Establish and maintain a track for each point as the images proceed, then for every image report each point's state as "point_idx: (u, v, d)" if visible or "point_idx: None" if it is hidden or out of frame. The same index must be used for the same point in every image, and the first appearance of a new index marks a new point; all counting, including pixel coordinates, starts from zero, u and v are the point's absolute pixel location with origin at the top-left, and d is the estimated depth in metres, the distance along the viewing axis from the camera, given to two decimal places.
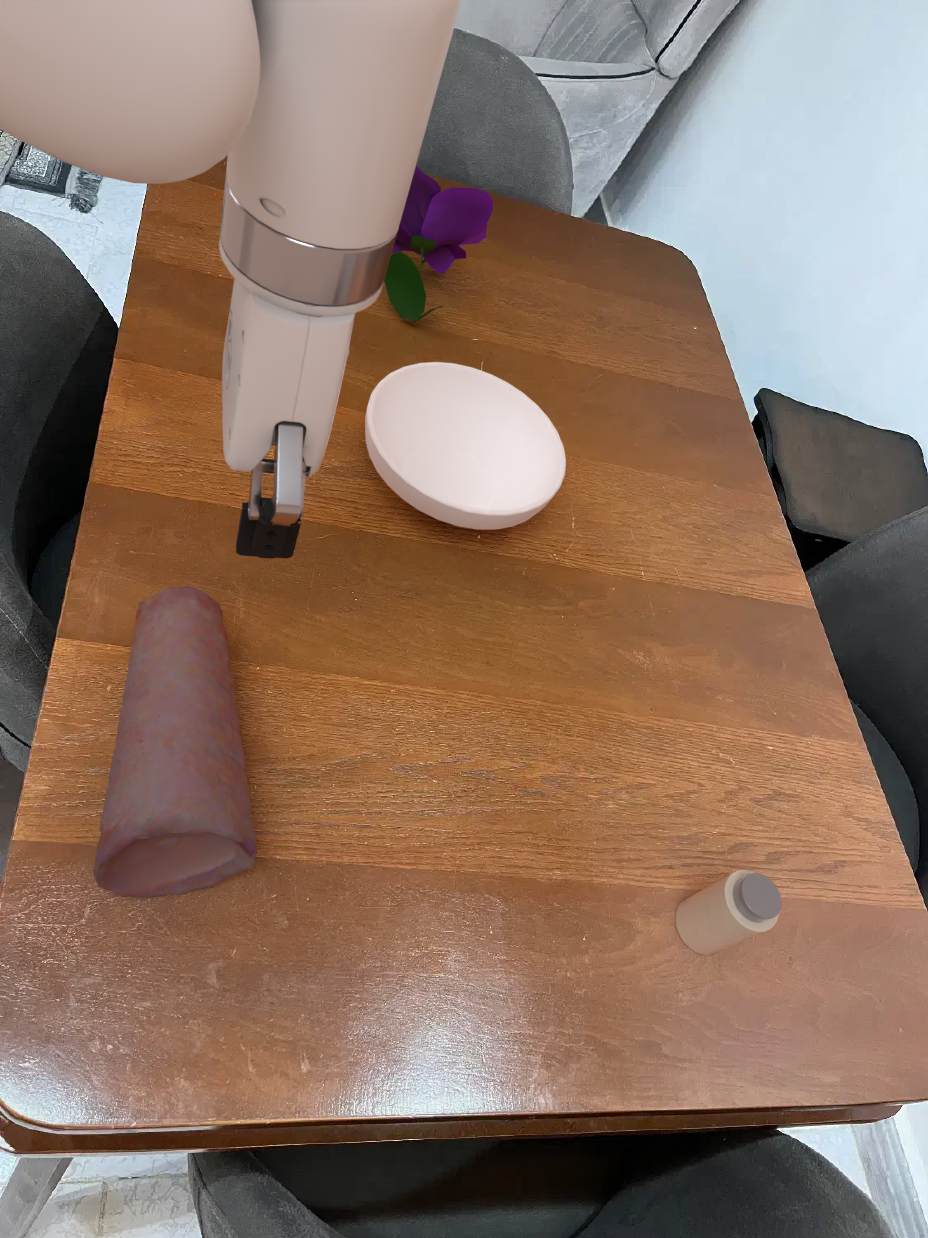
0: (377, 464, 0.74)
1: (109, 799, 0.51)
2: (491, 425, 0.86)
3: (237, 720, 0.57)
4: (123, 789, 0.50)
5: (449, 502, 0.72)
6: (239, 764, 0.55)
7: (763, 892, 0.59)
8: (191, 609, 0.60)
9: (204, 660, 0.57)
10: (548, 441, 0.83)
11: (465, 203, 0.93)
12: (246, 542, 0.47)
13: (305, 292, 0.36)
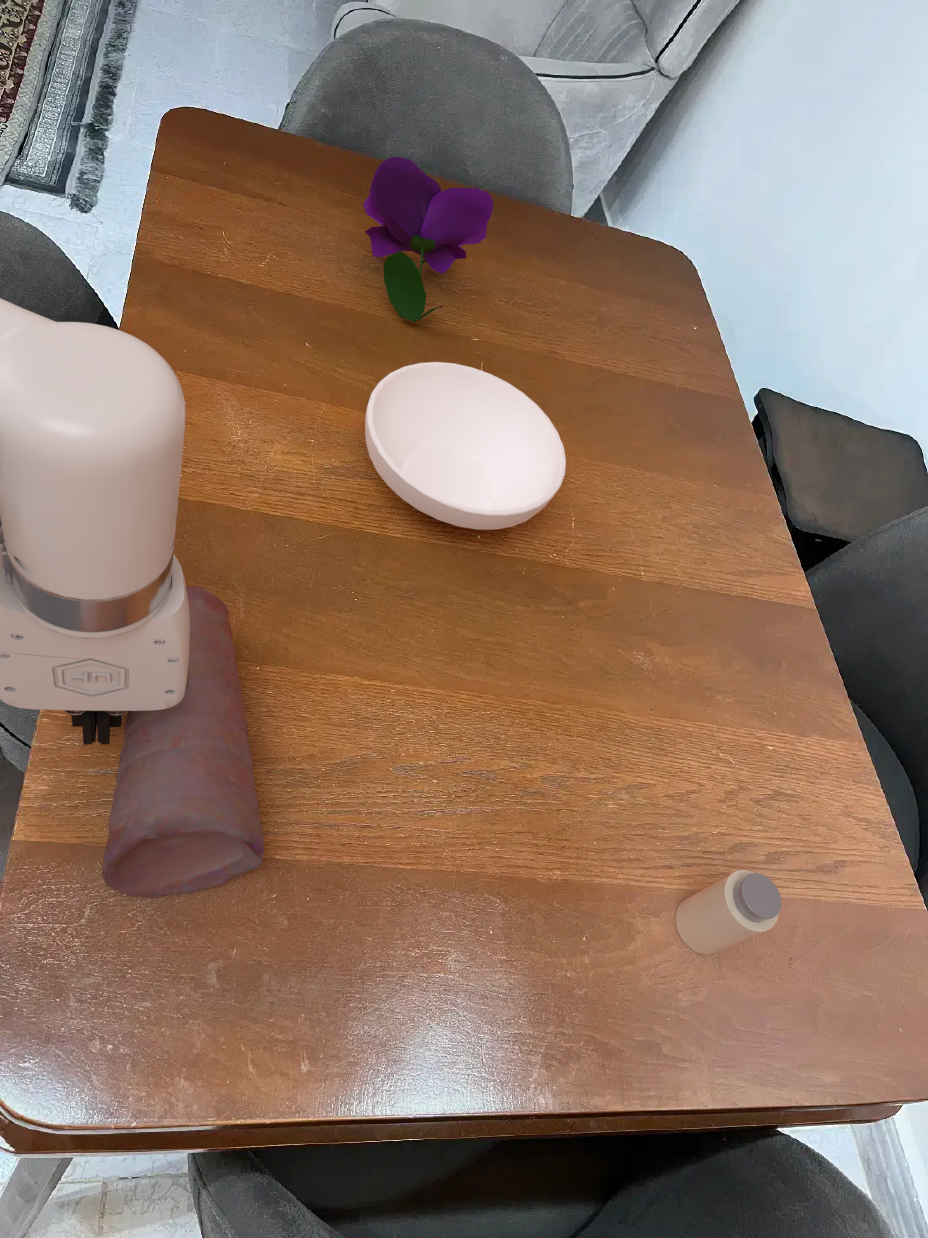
0: (377, 464, 0.74)
1: (117, 799, 0.51)
2: (491, 425, 0.86)
3: (244, 720, 0.57)
4: (131, 789, 0.51)
5: (449, 502, 0.72)
6: (246, 764, 0.55)
7: (763, 892, 0.59)
8: (197, 609, 0.60)
9: (211, 660, 0.57)
10: (548, 441, 0.83)
11: (465, 203, 0.93)
12: (109, 731, 0.55)
13: (171, 573, 0.43)
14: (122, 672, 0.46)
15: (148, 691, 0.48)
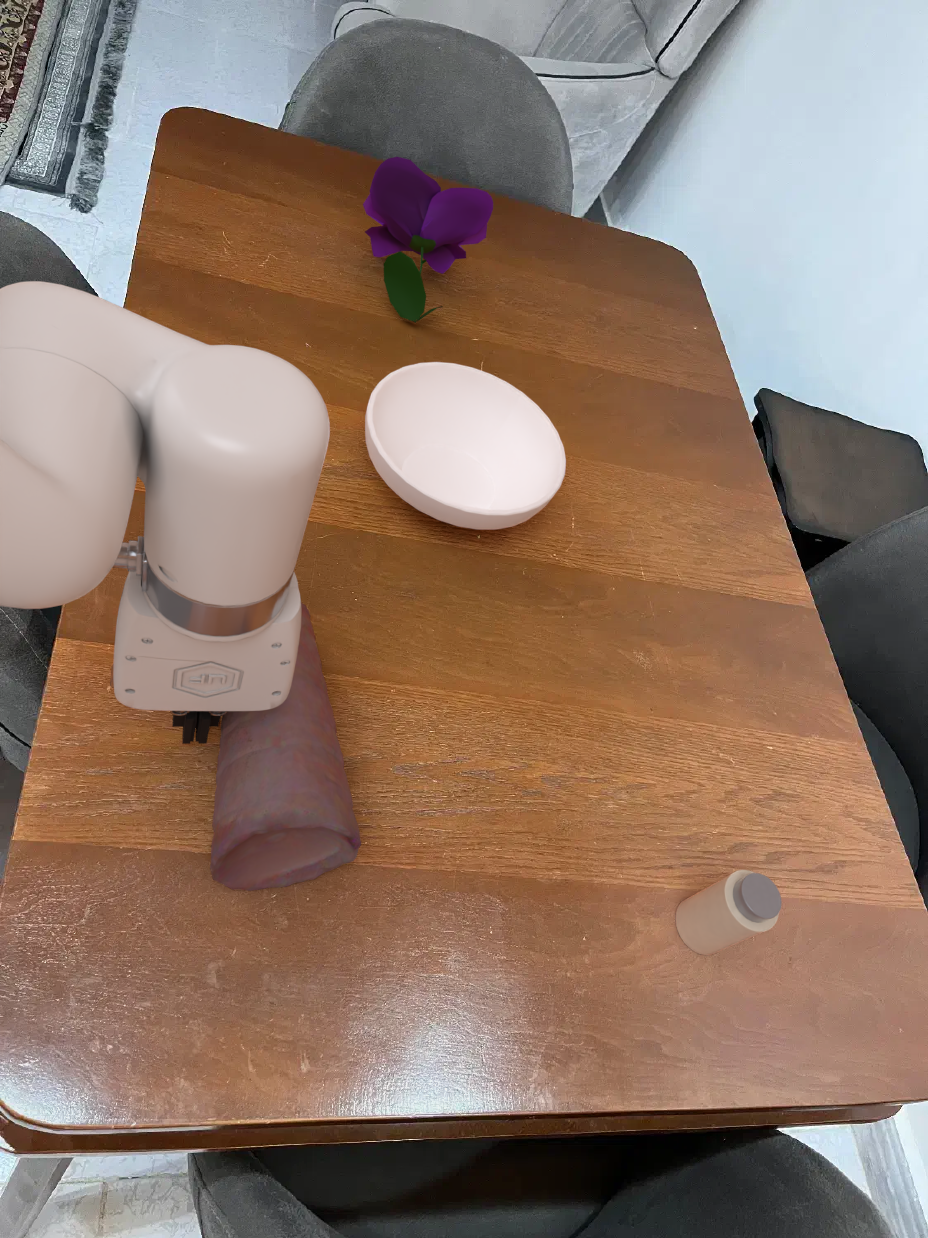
0: (377, 464, 0.74)
1: (222, 796, 0.53)
2: (491, 425, 0.86)
3: (333, 720, 0.59)
4: (236, 786, 0.53)
5: (449, 502, 0.72)
6: (339, 762, 0.57)
7: (763, 892, 0.59)
8: None
9: (301, 662, 0.60)
10: (548, 441, 0.83)
11: (465, 203, 0.93)
12: None
13: None
14: (237, 674, 0.48)
15: (257, 692, 0.50)
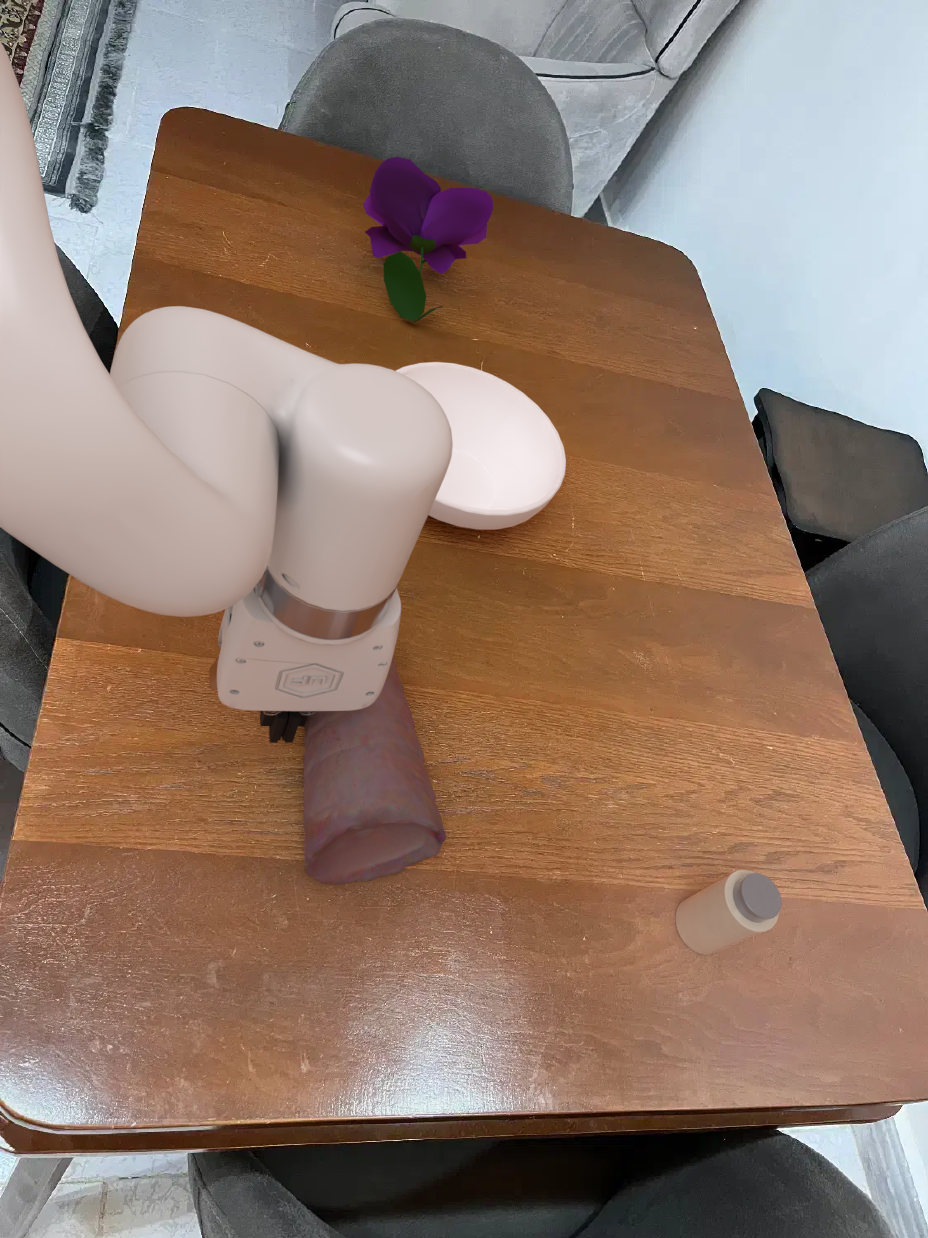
0: None
1: (315, 793, 0.55)
2: (491, 425, 0.86)
3: (412, 719, 0.61)
4: (329, 783, 0.55)
5: (449, 502, 0.72)
6: (421, 760, 0.59)
7: (763, 892, 0.59)
8: None
9: None
10: (548, 441, 0.83)
11: (465, 203, 0.93)
12: None
13: None
14: (337, 675, 0.50)
15: (352, 693, 0.52)
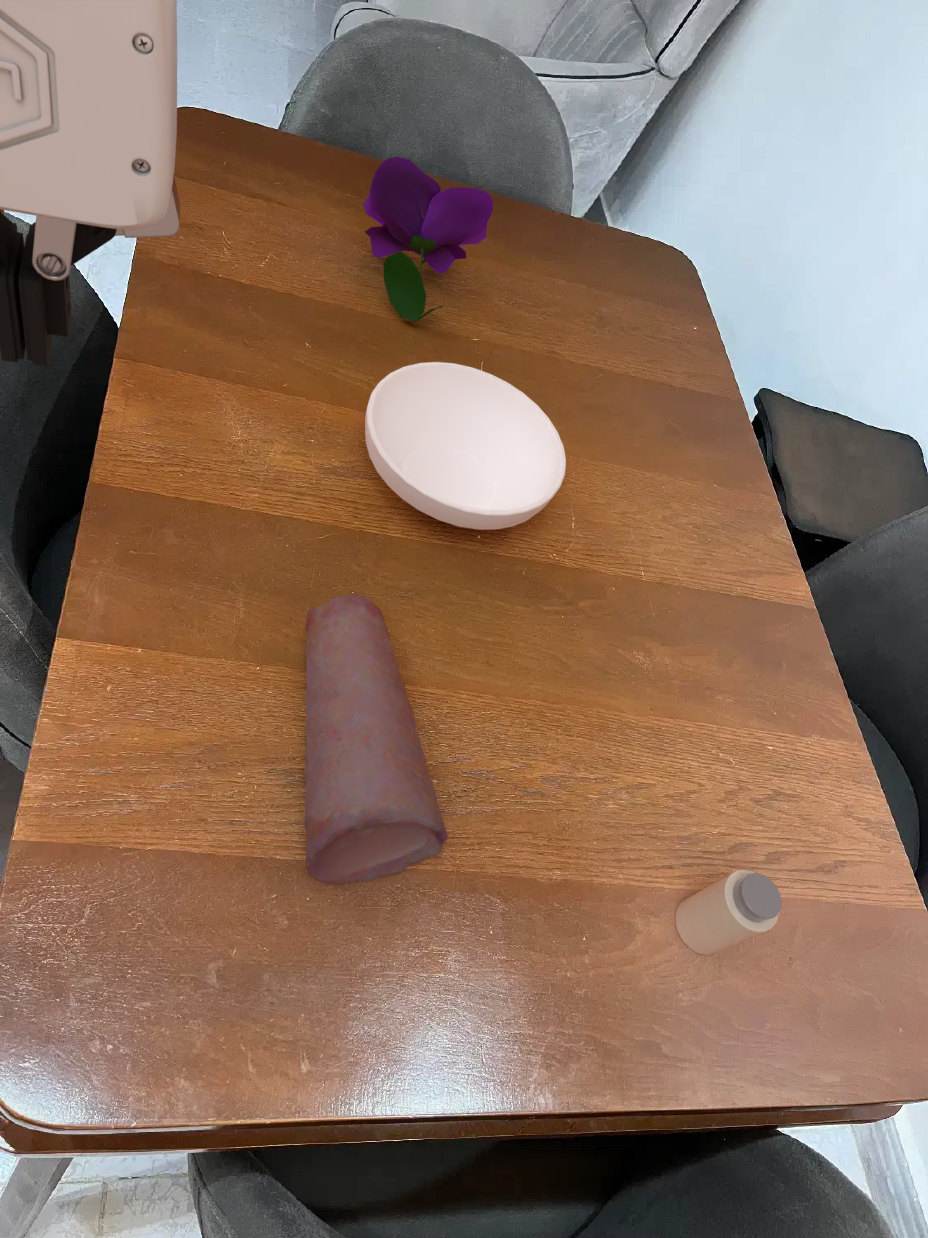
0: (377, 464, 0.74)
1: (316, 793, 0.55)
2: (491, 425, 0.86)
3: (414, 719, 0.61)
4: (330, 783, 0.55)
5: (449, 502, 0.72)
6: (423, 760, 0.59)
7: (763, 892, 0.59)
8: (362, 616, 0.64)
9: (382, 663, 0.62)
10: (548, 441, 0.83)
11: (465, 203, 0.93)
12: (46, 337, 0.32)
13: None
14: (42, 62, 0.23)
15: (99, 152, 0.25)
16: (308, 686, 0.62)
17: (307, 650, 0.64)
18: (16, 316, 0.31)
